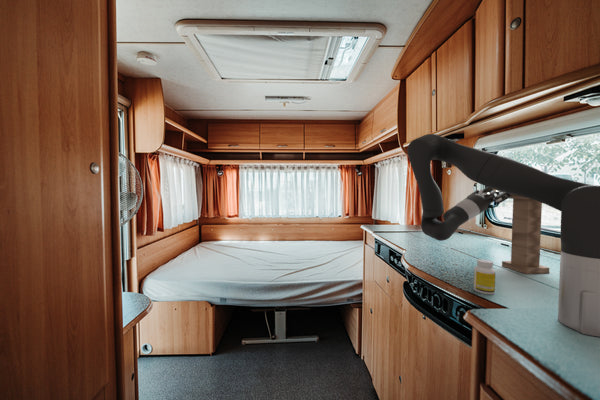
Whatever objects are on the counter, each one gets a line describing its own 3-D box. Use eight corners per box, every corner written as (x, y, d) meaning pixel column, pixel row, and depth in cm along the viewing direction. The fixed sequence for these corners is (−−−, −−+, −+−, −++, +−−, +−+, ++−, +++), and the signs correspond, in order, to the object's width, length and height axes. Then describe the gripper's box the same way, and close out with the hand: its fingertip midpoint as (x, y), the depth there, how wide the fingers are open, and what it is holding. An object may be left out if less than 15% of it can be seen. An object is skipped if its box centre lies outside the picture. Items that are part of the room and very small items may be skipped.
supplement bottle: (498, 295, 73) (499, 264, 73) (478, 294, 75) (479, 262, 74) (488, 288, 79) (489, 259, 78) (470, 287, 80) (471, 258, 79)
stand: (527, 275, 91) (530, 193, 90) (497, 265, 103) (500, 193, 102) (554, 273, 93) (557, 193, 92) (522, 264, 105) (524, 193, 104)
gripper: (481, 200, 87) (516, 177, 88) (451, 198, 101) (482, 179, 102) (490, 217, 87) (524, 195, 89) (459, 214, 102) (490, 194, 103)
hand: (502, 187), depth 96 cm, fingers open, 8 cm apart
